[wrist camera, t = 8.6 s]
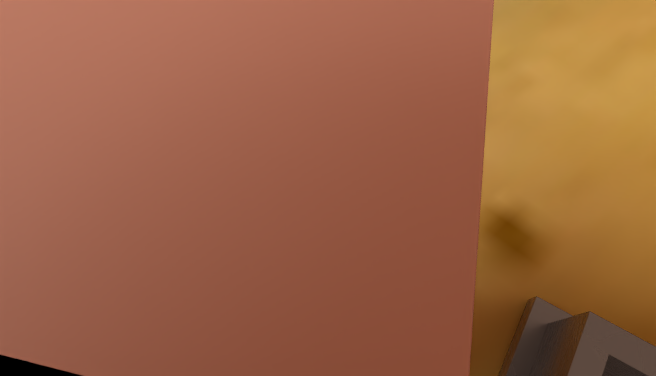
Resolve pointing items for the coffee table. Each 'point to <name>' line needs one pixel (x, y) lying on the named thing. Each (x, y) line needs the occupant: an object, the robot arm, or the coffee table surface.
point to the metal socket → (574, 346)
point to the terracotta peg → (241, 186)
